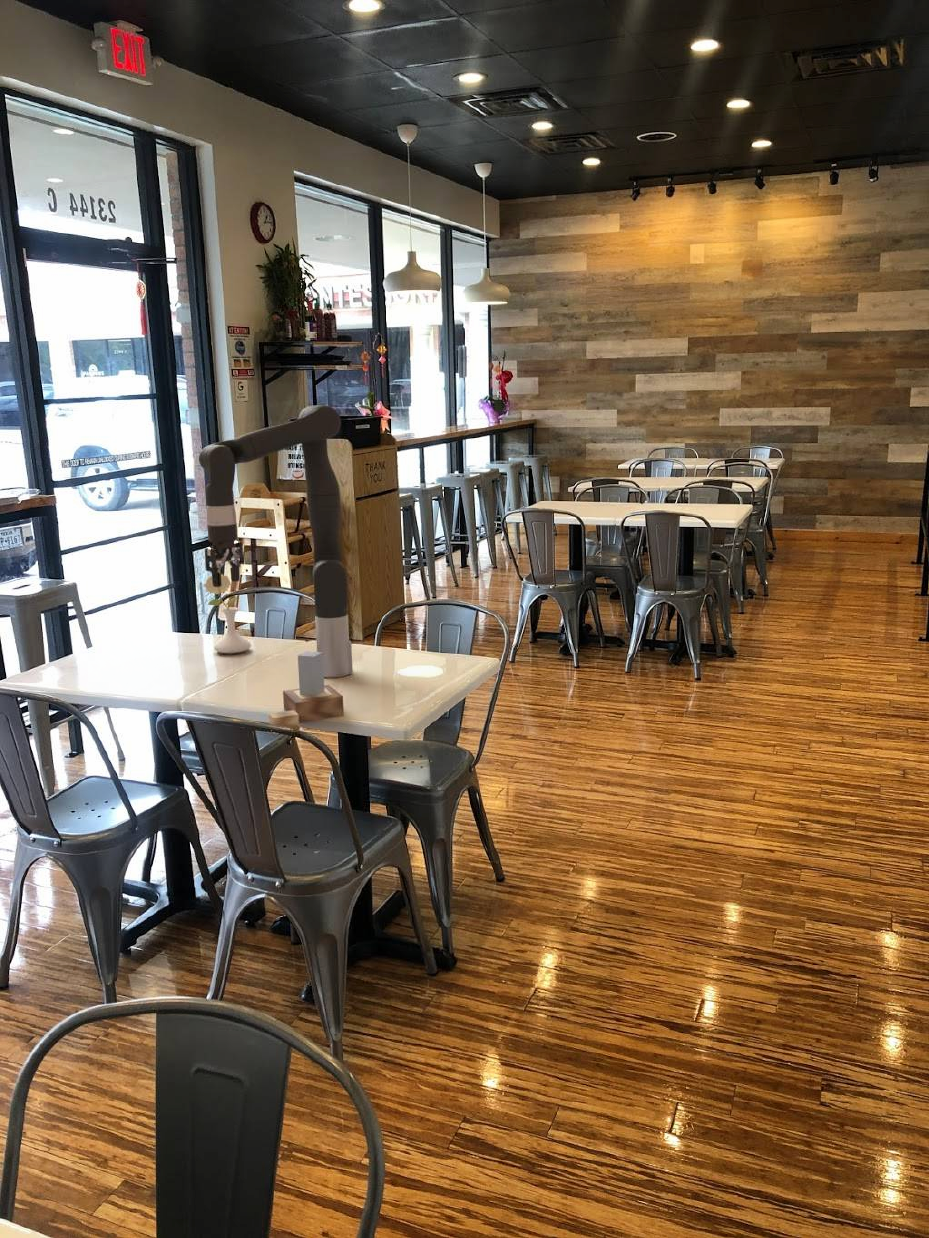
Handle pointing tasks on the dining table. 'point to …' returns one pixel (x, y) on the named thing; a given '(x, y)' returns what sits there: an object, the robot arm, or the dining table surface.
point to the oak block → (285, 719)
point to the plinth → (314, 704)
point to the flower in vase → (231, 639)
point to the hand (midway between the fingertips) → (226, 583)
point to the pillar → (311, 673)
